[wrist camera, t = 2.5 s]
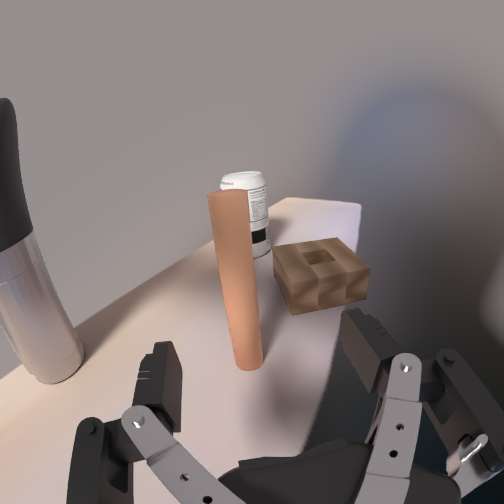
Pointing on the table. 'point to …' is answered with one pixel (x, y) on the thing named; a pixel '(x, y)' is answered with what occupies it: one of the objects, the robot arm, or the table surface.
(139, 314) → the table surface
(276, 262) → the socket block
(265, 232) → the supplement can
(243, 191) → the peg
